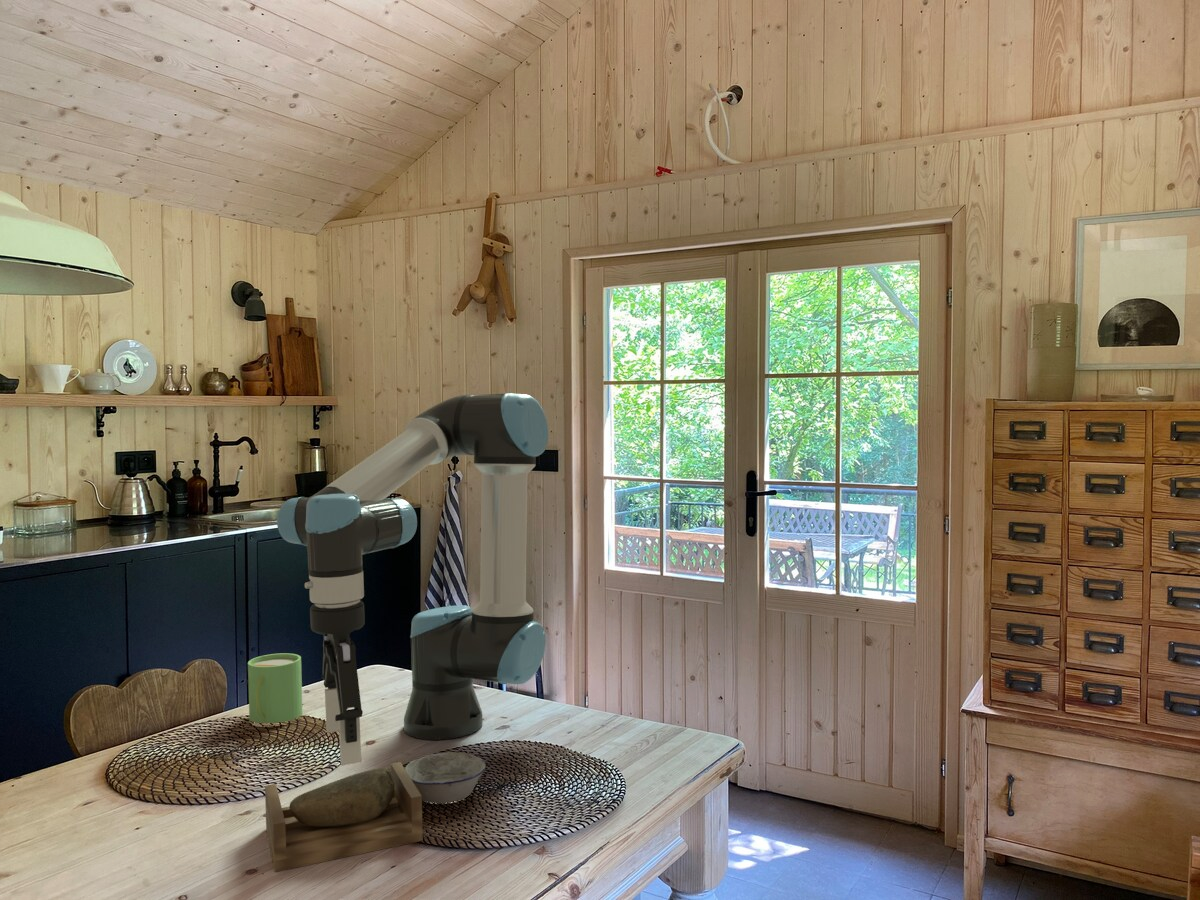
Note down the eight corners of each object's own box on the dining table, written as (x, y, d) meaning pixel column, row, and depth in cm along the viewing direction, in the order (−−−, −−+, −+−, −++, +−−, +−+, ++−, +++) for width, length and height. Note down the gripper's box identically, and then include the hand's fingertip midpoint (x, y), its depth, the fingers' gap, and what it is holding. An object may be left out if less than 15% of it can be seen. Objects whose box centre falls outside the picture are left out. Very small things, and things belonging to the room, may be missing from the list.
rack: (401, 802, 142) (400, 762, 141) (422, 840, 129) (421, 795, 129) (266, 828, 133) (264, 785, 133) (274, 872, 120) (273, 824, 120)
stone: (411, 810, 130) (376, 758, 128) (323, 871, 127) (285, 819, 124) (401, 783, 138) (368, 733, 136) (318, 839, 135) (282, 789, 132)
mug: (263, 709, 188) (262, 652, 187) (311, 711, 186) (309, 653, 186) (231, 730, 175) (229, 670, 175) (281, 732, 174) (279, 671, 173)
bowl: (431, 820, 135) (430, 788, 135) (389, 794, 145) (388, 765, 145) (501, 795, 144) (501, 765, 144) (458, 772, 154) (457, 744, 153)
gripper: (299, 588, 139) (305, 722, 141) (322, 624, 117) (329, 784, 118) (349, 583, 142) (354, 714, 144) (380, 617, 120) (386, 772, 121)
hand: (343, 746), depth 131 cm, fingers open, 13 cm apart
